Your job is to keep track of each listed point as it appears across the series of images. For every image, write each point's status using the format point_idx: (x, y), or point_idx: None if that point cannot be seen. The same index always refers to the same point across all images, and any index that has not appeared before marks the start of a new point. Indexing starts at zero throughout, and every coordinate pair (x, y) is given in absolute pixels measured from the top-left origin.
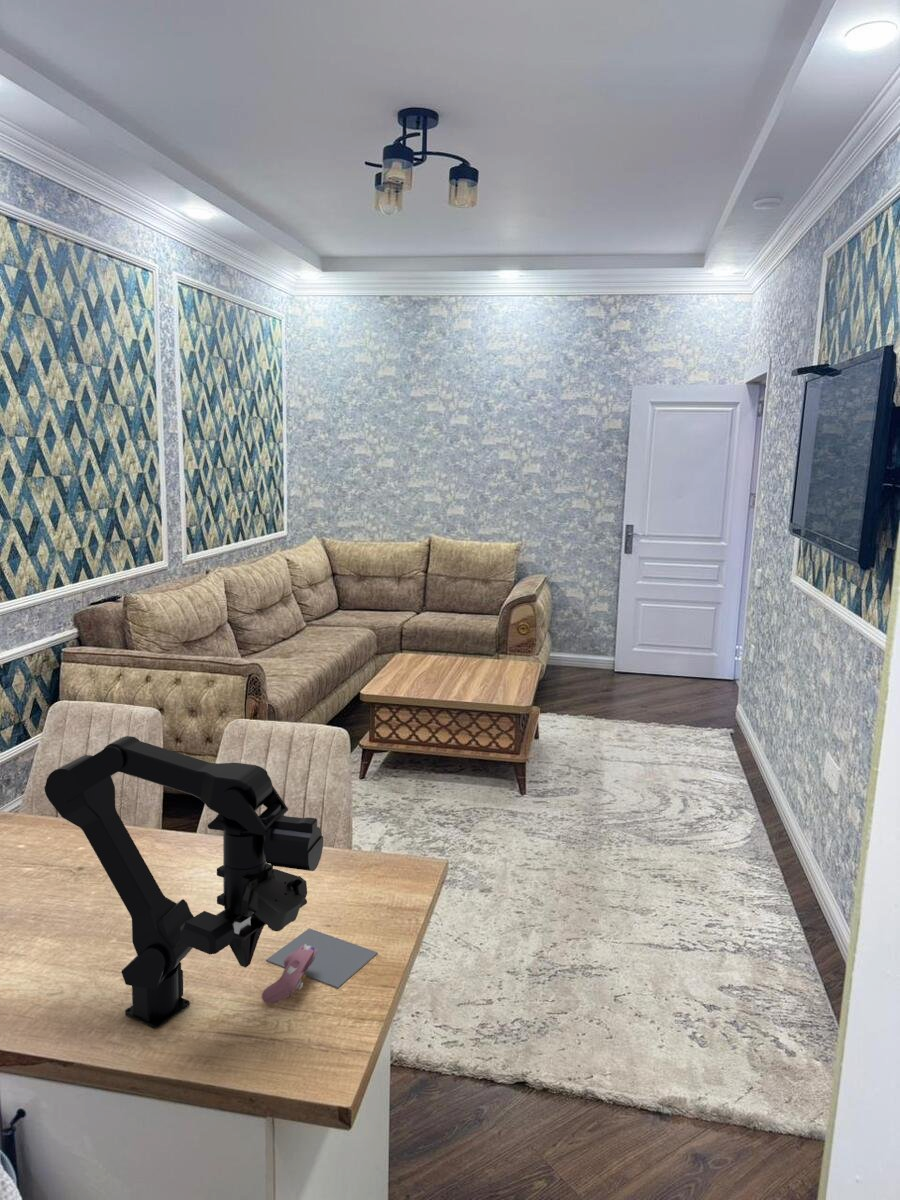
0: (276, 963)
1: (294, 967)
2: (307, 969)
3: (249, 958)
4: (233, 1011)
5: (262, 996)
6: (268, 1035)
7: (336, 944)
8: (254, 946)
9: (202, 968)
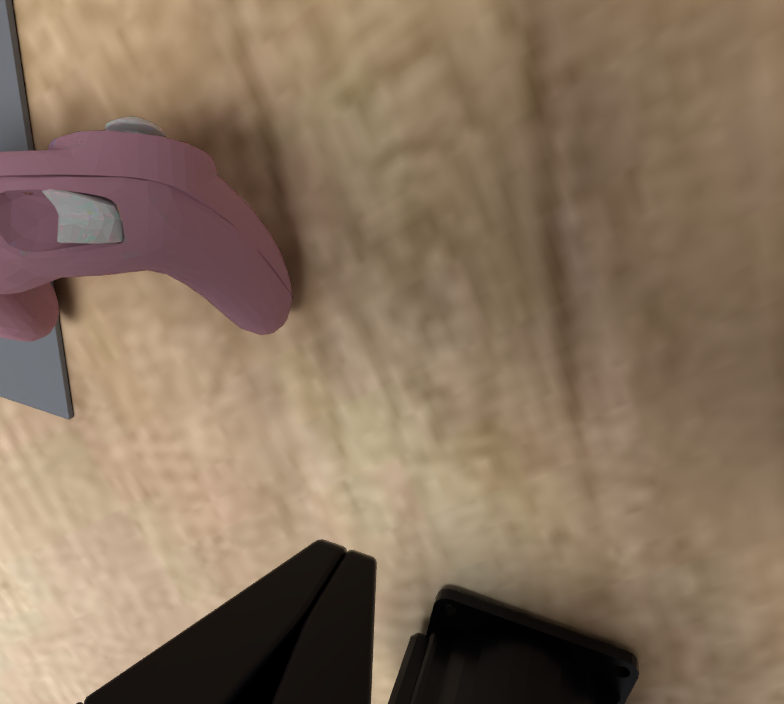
0: (60, 370)
1: (50, 220)
2: None
3: (307, 604)
4: (405, 410)
5: (281, 323)
6: (514, 147)
7: None
8: (169, 683)
9: None
